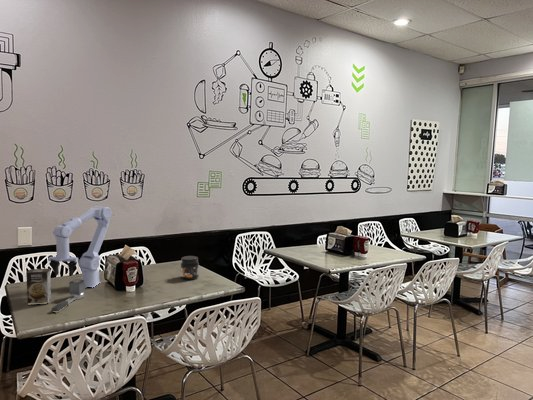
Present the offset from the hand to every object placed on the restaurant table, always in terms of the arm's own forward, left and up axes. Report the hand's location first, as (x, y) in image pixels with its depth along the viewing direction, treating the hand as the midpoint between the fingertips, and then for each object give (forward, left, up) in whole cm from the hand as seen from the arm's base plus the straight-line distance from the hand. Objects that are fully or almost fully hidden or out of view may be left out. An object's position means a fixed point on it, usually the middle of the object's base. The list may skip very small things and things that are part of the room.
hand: (63, 275), depth 208 cm
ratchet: (+12, +9, -10) cm, 18 cm away
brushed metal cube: (+4, +9, -7) cm, 12 cm away
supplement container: (-35, +56, -10) cm, 67 cm away
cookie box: (+13, -5, -10) cm, 17 cm away
